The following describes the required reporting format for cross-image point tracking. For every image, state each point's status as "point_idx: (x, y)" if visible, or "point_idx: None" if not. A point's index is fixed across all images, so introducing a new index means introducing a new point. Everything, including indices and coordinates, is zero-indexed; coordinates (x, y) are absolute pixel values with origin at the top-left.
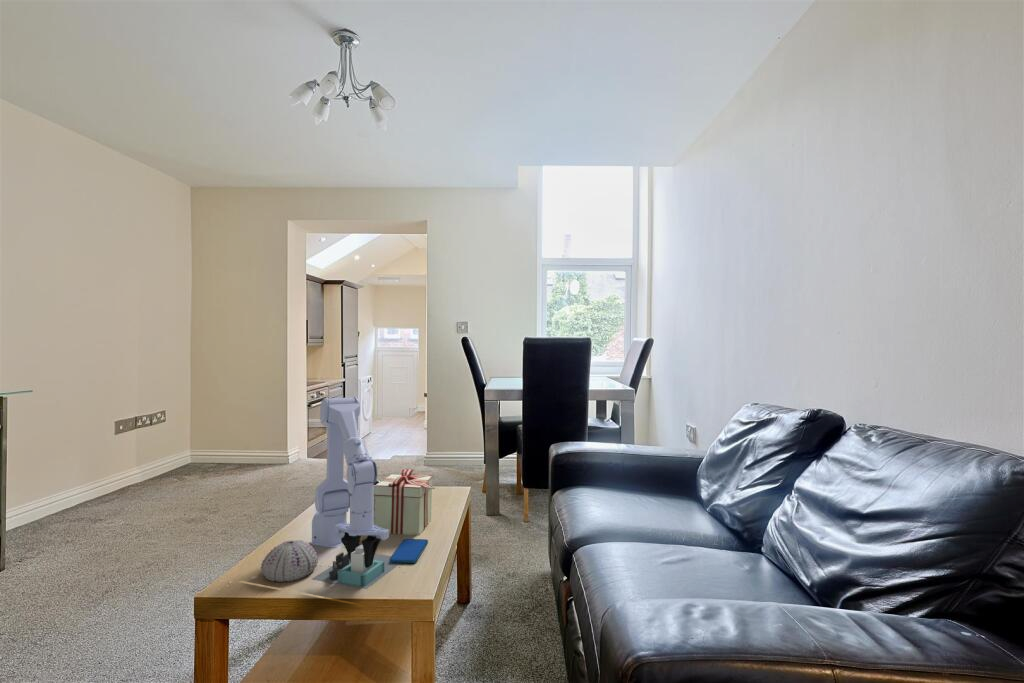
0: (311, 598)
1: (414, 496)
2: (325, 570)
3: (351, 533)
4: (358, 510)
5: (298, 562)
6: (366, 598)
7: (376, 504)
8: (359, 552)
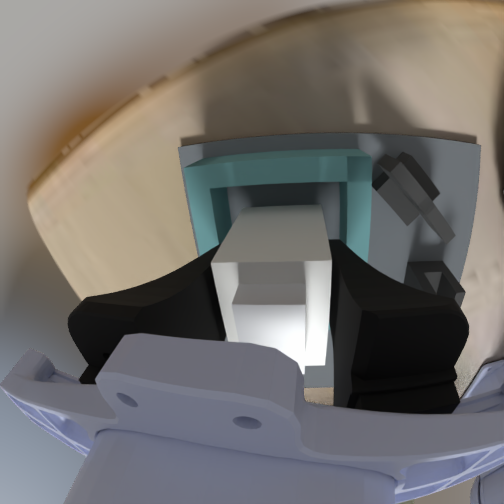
0: (358, 2)
1: None
2: (470, 230)
3: (175, 384)
4: None
5: None
6: (138, 100)
7: (410, 501)
8: (264, 286)
